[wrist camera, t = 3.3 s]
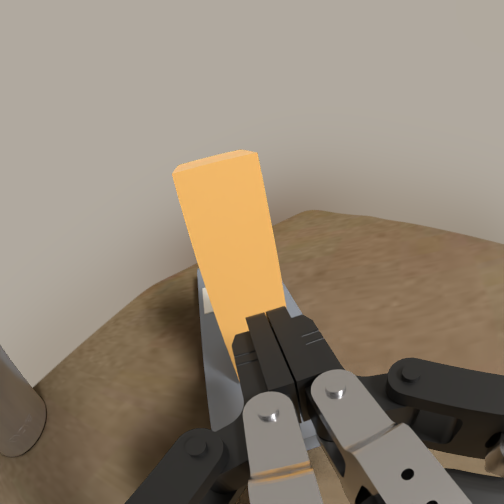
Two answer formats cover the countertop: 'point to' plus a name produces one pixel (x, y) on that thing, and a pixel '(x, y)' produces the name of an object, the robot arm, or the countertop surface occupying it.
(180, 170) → the slider tab
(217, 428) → the switch panel
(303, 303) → the countertop surface
